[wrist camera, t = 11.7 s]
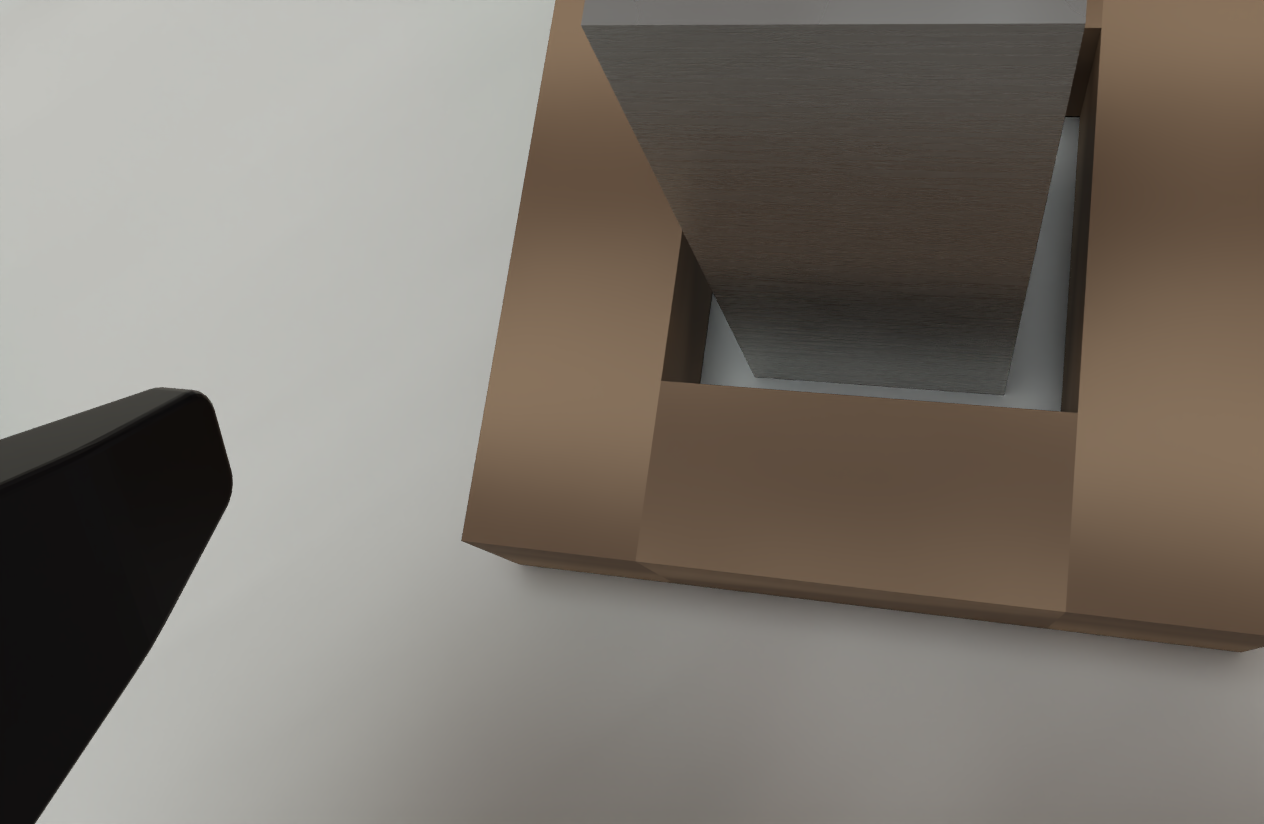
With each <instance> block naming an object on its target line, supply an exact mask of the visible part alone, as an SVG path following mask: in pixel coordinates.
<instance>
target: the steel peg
mask: <svg viewBox="0 0 1264 824" xmlns="http://www.w3.org/2000/svg"><path fill="white" fill-rule="evenodd" d="M1086 7H1087V0H585V3H584V9H583V15H582V21H581V27H582V29H583V31H584V33H585V35H586V37H587V39H588V41H589V43H590V45H591V47H592V49H593V51H594V53H595V55H596V57H597V59H598V61H599V63H600V65H601V67H602V69H603V71H604V73H605V75H606V77H607V79H608V81H609V83H610V85H611V87H612V89H613V91H614V93H615V95H616V97H617V99H618V101H619V103H620V105H621V107H622V109H623V111H624V114H625V116H626V118H627V120H628V122H629V124H630V126H631V128H632V130H633V132H634V134H635V136H636V138H637V140H638V142H639V144H640V146H641V148H642V150H643V152H644V154H645V156H646V158H647V160H648V162H649V164H650V166H651V168H652V170H653V172H654V174H655V176H656V178H657V180H658V182H659V184H660V186H661V188H662V190H663V192H664V194H665V196H666V198H667V200H668V202H669V204H670V206H671V209H672V211H673V213H674V215H675V217H676V219H677V221H678V223H679V225H680V227H681V229H682V231H683V233H684V235H685V237H686V239H687V241H688V243H689V245H690V247H691V249H692V251H693V253H694V255H695V257H696V259H697V261H698V263H699V265H700V267H701V269H702V271H703V273H704V275H705V277H706V279H707V281H708V283H709V285H710V287H711V289H712V291H713V293H714V295H715V297H716V299H717V302H718V304H719V306H720V308H721V310H722V312H723V314H724V316H725V318H726V320H727V322H728V324H729V326H730V328H731V330H732V332H733V334H734V336H735V338H736V340H737V342H738V344H739V346H740V348H741V350H742V352H743V354H744V356H745V358H746V360H747V362H748V364H749V366H750V368H751V370H752V372H753V374H754V376H755V377H765V378H778V379H792V380H806V381H820V382H833V383H847V384H861V385H874V386H888V387H902V388H915V389H929V390H943V391H956V392H970V393H984V394H997V395H1004V392H1005V387H1006V383H1007V378H1008V374H1009V369H1010V365H1011V360H1012V356H1013V351H1014V346H1015V342H1016V337H1017V333H1018V328H1019V324H1020V319H1021V315H1022V310H1023V306H1024V301H1025V296H1026V292H1027V287H1028V283H1029V278H1030V274H1031V269H1032V265H1033V260H1034V255H1035V251H1036V246H1037V242H1038V237H1039V233H1040V228H1041V224H1042V219H1043V214H1044V210H1045V205H1046V201H1047V196H1048V192H1049V187H1050V183H1051V178H1052V174H1053V169H1054V164H1055V160H1056V155H1057V151H1058V146H1059V142H1060V137H1061V133H1062V128H1063V123H1064V119H1065V114H1066V110H1067V105H1068V101H1069V96H1070V92H1071V87H1072V82H1073V78H1074V73H1075V69H1076V64H1077V60H1078V55H1079V51H1080V46H1081V42H1082V37H1083V32H1084V28H1085V23H1086Z"/></svg>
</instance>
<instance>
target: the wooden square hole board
mask: <svg viewBox="0 0 1264 824" xmlns="http://www.w3.org/2000/svg"><path fill="white" fill-rule="evenodd" d="M584 3H585V0H556V1H555V7H554V13H553V18H552V24H551V30H550V36H549V41H548V47H547V53H546V59H545V64H544V70H543V76H542V81H541V87H540V93H539V99H538V104H537V110H536V116H535V122H534V127H533V133H532V139H531V145H530V150H529V156H528V162H527V167H526V173H525V179H524V185H523V190H522V196H521V202H520V208H519V213H518V219H517V225H516V231H515V236H514V242H513V248H512V253H511V259H510V265H509V271H508V276H507V282H506V288H505V294H504V299H503V305H502V311H501V317H500V322H499V328H498V334H497V339H496V345H495V351H494V357H493V362H492V368H491V374H490V380H489V385H488V391H487V397H486V403H485V408H484V414H483V420H482V425H481V431H480V437H479V443H478V448H477V454H476V460H475V466H474V471H473V477H472V483H471V489H470V494H469V500H468V506H467V512H466V517H465V523H464V529H463V534H462V540H461V541H463V542H466V543H468V544H470V545H473V546H475V547H478V548H480V549H483V550H485V551H488V552H490V553H493V554H495V555H498V556H500V557H503V558H505V559H508V560H510V561H512V562H515V563H517V564H521V565H529V566H537V567H546V568H554V569H562V570H570V571H579V572H587V573H595V574H603V575H611V576H620V577H628V578H636V579H644V580H652V581H661V582H669V583H677V584H685V585H694V586H702V587H710V588H718V589H726V590H735V591H743V592H751V593H759V594H767V595H776V596H784V597H792V598H800V599H809V600H817V601H825V602H833V603H841V604H850V605H858V606H866V607H874V608H882V609H891V610H899V611H907V612H915V613H924V614H932V615H940V616H948V617H956V618H965V619H973V620H981V621H989V622H997V623H1006V624H1014V625H1022V626H1030V627H1038V628H1047V629H1055V630H1063V631H1071V632H1080V633H1088V634H1096V635H1104V636H1112V637H1121V638H1129V639H1137V640H1145V641H1153V642H1162V643H1170V644H1178V645H1186V646H1195V647H1203V648H1211V649H1219V650H1227V651H1236V652H1244V651H1248V650H1252V649H1256V648H1260V647H1264V0H1087V7H1086V23H1085V28H1084V32H1083V37H1082V42H1081V46H1080V51H1079V55H1078V60H1077V64H1076V69H1075V73H1074V78H1073V82H1072V87H1071V92H1070V96H1069V101H1068V105H1067V110H1066V114H1065V116H1080V124H1079V140H1078V155H1077V171H1076V186H1075V202H1074V217H1073V233H1072V248H1071V264H1070V279H1069V294H1068V310H1067V325H1066V341H1065V356H1064V372H1063V387H1062V403H1061V412H1059V411H1046V410H1033V409H1020V408H1007V407H994V406H981V405H968V404H955V403H942V402H929V401H916V400H903V399H890V398H877V397H864V396H851V395H838V394H825V393H812V392H799V391H786V390H773V389H760V388H747V387H734V386H721V385H708V384H700V379H701V372H702V364H703V357H704V349H705V342H706V334H707V327H708V320H709V312H710V305H711V297H712V289H711V287H710V285H709V283H708V281H707V279H706V277H705V275H704V273H703V271H702V269H701V267H700V265H699V263H698V261H697V259H696V257H695V255H694V253H693V251H692V249H691V247H690V245H689V243H688V241H687V239H686V237H685V235H684V233H683V231H682V229H681V227H680V225H679V223H678V221H677V219H676V217H675V215H674V213H673V211H672V209H671V206H670V204H669V202H668V200H667V198H666V196H665V194H664V192H663V190H662V188H661V186H660V184H659V182H658V180H657V178H656V176H655V174H654V172H653V170H652V168H651V166H650V164H649V162H648V160H647V158H646V156H645V154H644V152H643V150H642V148H641V146H640V144H639V142H638V140H637V138H636V136H635V134H634V132H633V130H632V128H631V126H630V124H629V122H628V120H627V118H626V116H625V114H624V111H623V109H622V107H621V105H620V103H619V101H618V99H617V97H616V95H615V93H614V91H613V89H612V87H611V85H610V83H609V81H608V79H607V77H606V75H605V73H604V71H603V69H602V67H601V65H600V63H599V61H598V59H597V57H596V55H595V53H594V51H593V49H592V47H591V45H590V43H589V41H588V39H587V37H586V35H585V33H584V31H583V29H582V27H581V21H582V15H583V9H584Z"/></svg>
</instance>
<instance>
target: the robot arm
mask: <svg viewBox="0 0 1264 824" xmlns="http://www.w3.org/2000/svg"><path fill="white" fill-rule="evenodd" d="M232 486H233V480H232V472H231V468H230V464H229V460H228V457H227V453H226V450H225V446H224V442H223V439H222V435H221V431H220V428H219V424H218V421H217V417H216V413H215V410H214V407H213V405H212V403H211V401H210V400H209V399H208V397H207V396H206V395H204V394H203V393H201V392H199V391H195V390H187V389H176V388H164V387H160V388H153V389H149V390H146V391H143V392H140V393H138V394H135V395H132V396H129V397H126V398H123V399H120V400H117V401H114V402H111V403H108V404H105V405H102V406H99V407H96V408H93V409H90V410H87V411H84V412H81V413H78V414H75V415H72V416H69V417H66V418H63V419H60V420H57V421H54V422H51V423H48V424H45V425H42V426H39V427H36V428H33V429H30V430H28V431H25V432H22V433H19V434H16V435H13V436H10V437H7V438H4V439H1V440H0V824H35V823H36V821H37V820H38V818H39V817H40V815H41V814H42V813H43V811H44V810H45V808H46V807H47V805H48V804H49V802H50V801H51V799H52V798H53V796H54V795H55V793H56V792H57V790H58V789H59V787H60V786H61V784H62V783H63V781H64V780H65V778H66V777H67V775H68V774H69V772H70V771H71V769H72V768H73V766H74V765H75V763H76V762H77V760H78V759H79V757H80V756H81V754H82V753H83V751H84V750H85V748H86V747H87V745H88V744H89V742H90V741H91V739H92V738H93V736H94V735H95V733H96V732H97V730H98V729H99V727H100V726H101V724H102V723H103V721H104V720H105V718H106V717H107V715H108V714H109V712H110V711H111V709H112V708H113V706H114V705H115V703H116V702H117V700H118V699H119V697H120V696H121V694H122V693H123V691H124V690H125V688H126V687H127V685H128V684H129V682H130V681H131V679H132V678H133V676H134V675H135V673H136V672H137V670H138V668H139V667H140V665H141V664H142V662H143V661H144V659H145V657H146V656H147V654H148V653H149V651H150V650H151V648H152V646H153V644H154V643H155V641H156V639H157V637H158V635H159V634H160V632H161V630H162V628H163V627H164V625H165V623H166V621H167V619H168V617H169V615H170V613H171V612H172V610H173V608H174V606H175V604H176V602H177V600H178V598H179V596H180V595H181V593H182V591H183V589H184V587H185V585H186V583H187V581H188V580H189V578H190V576H191V574H192V572H193V570H194V568H195V566H196V564H197V563H198V561H199V559H200V557H201V555H202V553H203V551H204V549H205V547H206V546H207V544H208V542H209V540H210V538H211V536H212V534H213V532H214V530H215V529H216V527H217V525H218V523H219V521H220V519H221V517H222V515H223V513H224V512H225V510H226V508H227V506H228V503H229V501H230V497H231V494H232Z"/></svg>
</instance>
